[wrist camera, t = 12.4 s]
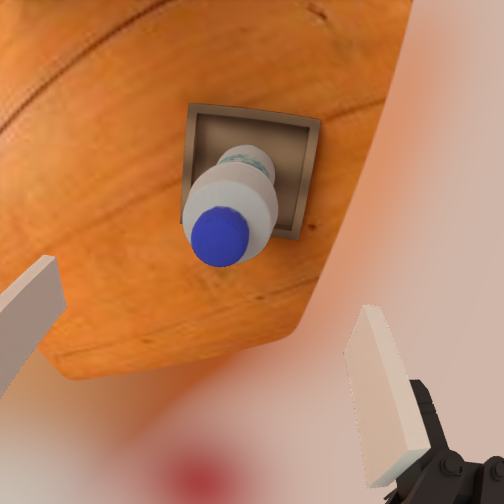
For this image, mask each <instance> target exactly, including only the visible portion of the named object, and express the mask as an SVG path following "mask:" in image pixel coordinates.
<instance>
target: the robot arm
mask: <svg viewBox="0 0 504 504" xmlns="http://www.w3.org/2000/svg"><path fill="white" fill-rule="evenodd" d="M66 307H67V306H66V302H65V297H64V293H63V289H62V284H61V279H60V274H59V269H58V264H57V258H56V257H53V256H48V255H43V256H42V257H41V258H39V259H38V260H37V261H36V262H35V263H34V264H33V265H32V266H30V267H29V268H28V269H27V270H26V271H25V272H24V273H23V274H22V275H21V276H20V277H18V278H17V279H16V280H15V281H14V282H13V283H12V284H11V285H10V286H9V287H8V288H7V289H6V290H5V291H4V292H3V293H2V294H1V295H0V399H1V397H2V396H3V394H4V393H5V391H6V389H7V388H8V386H9V385H10V383H11V382H12V380H13V379H14V378H15V376H16V374H17V373H18V372H19V370H20V368H21V367H22V366H23V364H24V363H25V361H26V360H27V359H28V357H29V356H30V354H31V353H32V352H33V350H34V349H35V347H36V346H37V345H38V344H39V342H40V341H41V340H42V338H43V337H44V336H45V334H46V333H47V332H48V330H49V329H50V328H51V326H52V325H53V324H54V323H55V321H56V320H57V319H58V317H59V316H60V315H61V314H62V312H63V311H64V310H65V309H66ZM344 358H345V363H346V368H347V373H348V378H349V383H350V388H351V393H352V399H353V404H354V409H355V415H356V421H357V426H358V432H359V438H360V445H361V451H362V457H363V463H364V471H365V478H366V486H367V488H376V487H385V486H388V485H389V484H391V483H392V482H393V481H394V480H396V482H397V488H396V489H394V490H393V491H392V492H390V493H389V494H388V495H387V496H386V497H385V498H384V500H387V499H388V498H389V499H388V501H387V502H386V503H385V504H504V458H502V457H500V456H493V457H491V458H489V459H488V460H487V461H486V462H485V463H484V464H480V463H472V462H465V461H464V460H463V458H462V457H461V456H460V455H459V454H458V453H457V452H455V451H452V450H450V449H449V447H448V445H447V442H446V439H445V436H444V433H443V430H442V427H441V424H440V421H439V418H438V415H437V414H436V410H435V407H434V404H432V402H433V401H432V399H431V396H430V393H429V391H428V389H427V388H426V387H425V386H424V384H423V383H422V382H421V381H420V380H409V379H408V376H407V373H406V370H405V368H404V365H403V362H402V360H401V357H400V354H399V352H398V349H397V347H396V344H395V342H394V339H393V337H392V334H391V332H390V329H389V327H388V324H387V322H386V319H385V317H384V314H383V312H382V310H381V307H380V306H376V305H367V304H363V305H362V308H361V311H360V314H359V316H358V318H357V321H356V323H355V326H354V328H353V331H352V334H351V336H350V338H349V341H348V343H347V346H346V348H345V350H344Z"/></svg>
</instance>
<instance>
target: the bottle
mask: <svg viewBox="0 0 504 504" xmlns="http://www.w3.org/2000/svg"><path fill="white" fill-rule="evenodd" d="M274 181H275V169H274V165H273V162H272V160H271V158H270V157H269V156H268V154H266V153H265V152H264V151H263V150H261V149H259V148H257V147H255V146H253V145H240V146H236V147H233V148H231V149H229V150H228V151H226V152H225V153H224V154H223V155H222V157H221V158H220V159H219V161H218V163H217V165H216V166H213V167H212V168H210V169H209V170H207V171H206V172H205V173H203V174H202V175H201V176H200V177H199V178H198V179H197V180H196V181H195V183H194V184H193V186H192V188H191V190H190V192H189V196H188V199H187V202H186V204H185V207H184V211H183V228H184V232H185V235H186V237H187V240H188V241H189V243H190V244H191V246H192V248H193V250H194V253H195V254H196V255H197V257H198V258H199V259H200V260H201V261H203V262H204V263H206V264H208V265H211V266H214V267H226V266H230V265H233V264H237V263H242V262H245V261H247V260H250V259H252V258H253V257H255V256H256V255H257V254H259V253H260V252H261V251H262V250H263V248H264V247H265V246H266V244H267V243H268V241H269V238H270V236H271V233H272V230H273V228H274V226H275V224H276V221H277V217H278V201H277V197H276V193H275V190H274V187H273V185H274Z"/></svg>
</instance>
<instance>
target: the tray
mask: <svg viewBox="0 0 504 504" xmlns="http://www.w3.org/2000/svg"><path fill="white" fill-rule="evenodd" d="M320 124H321V120H319V119H315V118H310V117H304V116H298V115H292V114H286V113H280V112H273V111H266V110H258V109H250V108H242V107H232V106H222V105H211V104H197V103H191V104H189V105H188V115H187V126H186V138H185V150H184V164H183V179H182V196H181V218H180V224H183V211H184V207H185V204H186V202H187V199H188V196H189V192H190V190H191V188H192V186H193V184H194V183H195V181H196V180H197V179H198V178H199V177H200V176H201V175H202V174H203V173H205V172H206V171H207V170H209V169H210V168H212V167H213V166H216V165H217V163H218V161H219V159H220V158H221V157H222V155H223V154H224V153H225V152H226V151H228V150H229V149H231V148H233V147H236V146H240V145H253V146H255V147H257V148H259V149H261V150H263V151H264V152H265V153H266V154H268V156H269V157H270V158H271V160H272V162H273V165H274V169H275V181H274V185H273V187H274V190H275V193H276V197H277V201H278V217H277V221H276V224H275V226H274V228H273V230H272V233H271V236H272V237H279V238H286V239H292V240H299V236H300V231H301V227H302V222H303V217H304V212H305V207H306V201H307V196H308V191H309V186H310V180H311V175H312V170H313V164H314V159H315V153H316V148H317V142H318V136H319V130H320Z"/></svg>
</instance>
